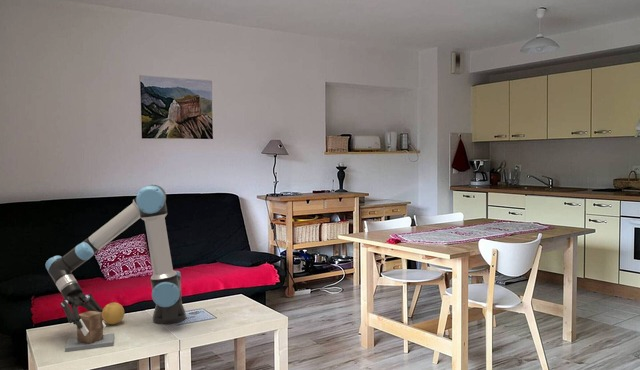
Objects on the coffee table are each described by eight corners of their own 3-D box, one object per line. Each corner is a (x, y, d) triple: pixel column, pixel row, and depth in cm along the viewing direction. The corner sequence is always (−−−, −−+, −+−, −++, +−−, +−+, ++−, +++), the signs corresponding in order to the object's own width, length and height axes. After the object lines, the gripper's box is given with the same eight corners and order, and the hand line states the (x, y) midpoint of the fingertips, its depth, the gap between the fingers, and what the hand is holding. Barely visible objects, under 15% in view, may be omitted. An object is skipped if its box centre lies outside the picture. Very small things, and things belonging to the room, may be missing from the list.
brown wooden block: (92, 336, 226) (91, 310, 226) (103, 338, 223) (102, 312, 222) (77, 341, 220) (76, 314, 220) (88, 343, 217) (87, 317, 216)
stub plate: (114, 336, 230) (113, 318, 230) (113, 345, 219) (112, 326, 219) (68, 342, 224) (67, 323, 224) (65, 351, 213) (64, 332, 213)
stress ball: (123, 319, 255) (122, 298, 255) (125, 325, 247) (125, 303, 246) (101, 322, 251) (100, 301, 251) (102, 328, 242) (101, 306, 242)
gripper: (86, 288, 237) (112, 329, 230) (43, 298, 220) (69, 343, 212) (93, 277, 234) (119, 318, 227) (50, 287, 217) (77, 332, 210)
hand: (95, 330), depth 220 cm, fingers open, 7 cm apart
